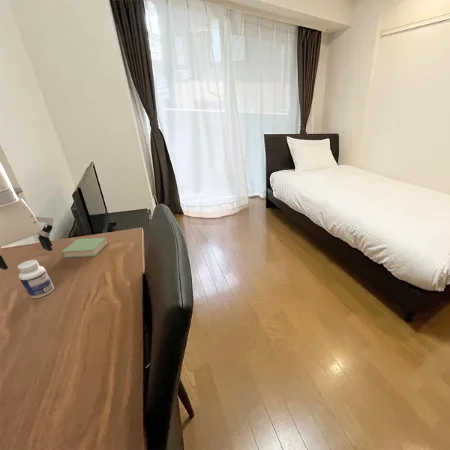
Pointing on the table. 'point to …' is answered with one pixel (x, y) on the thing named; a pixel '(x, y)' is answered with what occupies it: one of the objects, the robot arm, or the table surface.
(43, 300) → the table surface
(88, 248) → the book
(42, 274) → the pill bottle
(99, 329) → the table surface
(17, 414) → the table surface
